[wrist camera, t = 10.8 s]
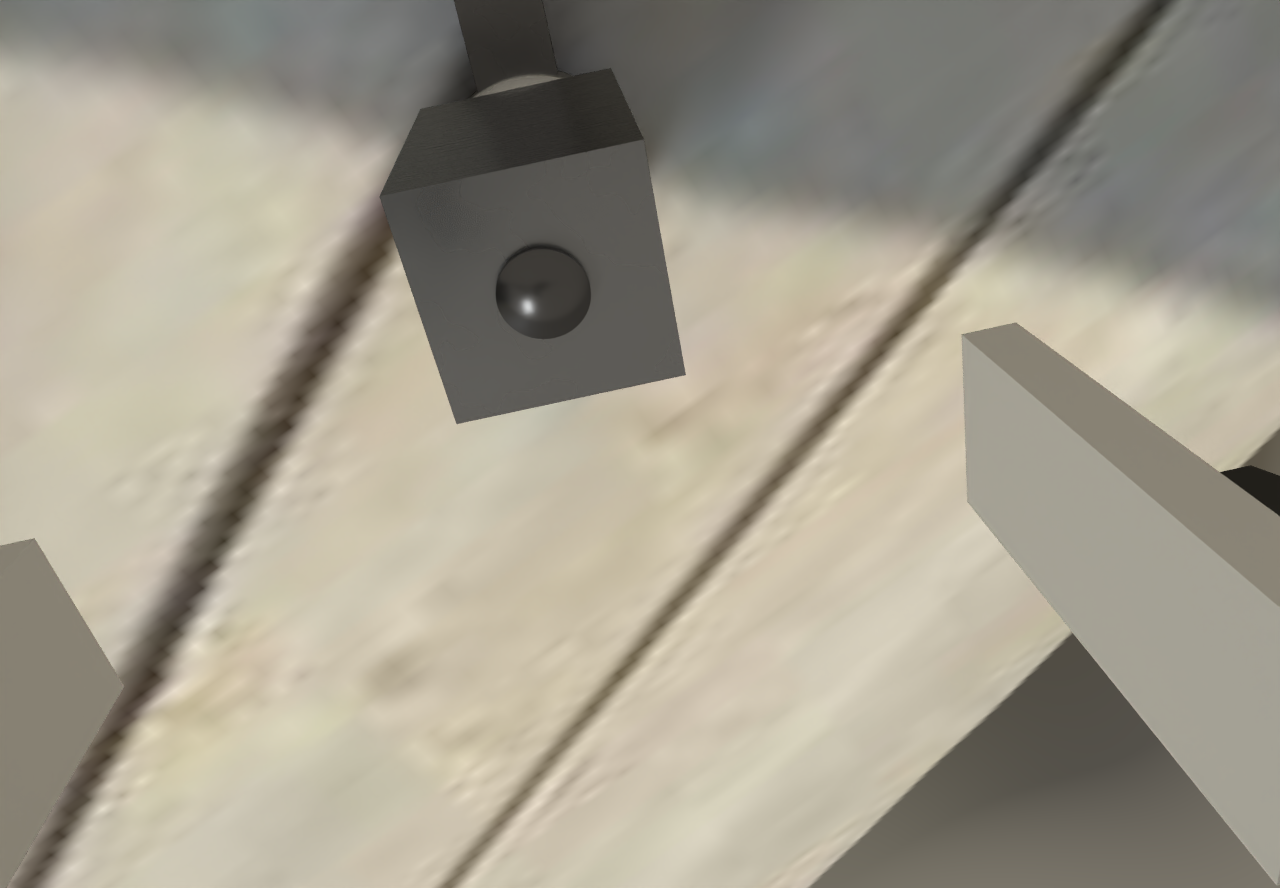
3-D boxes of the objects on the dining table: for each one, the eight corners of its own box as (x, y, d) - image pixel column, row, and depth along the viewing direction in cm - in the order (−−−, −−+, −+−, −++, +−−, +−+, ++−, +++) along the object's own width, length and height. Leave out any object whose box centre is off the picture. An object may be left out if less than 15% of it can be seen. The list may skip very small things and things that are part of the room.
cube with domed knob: (473, 288, 34) (455, 428, 25) (420, 109, 30) (378, 199, 22) (645, 251, 34) (686, 378, 25) (610, 67, 30) (645, 141, 22)
